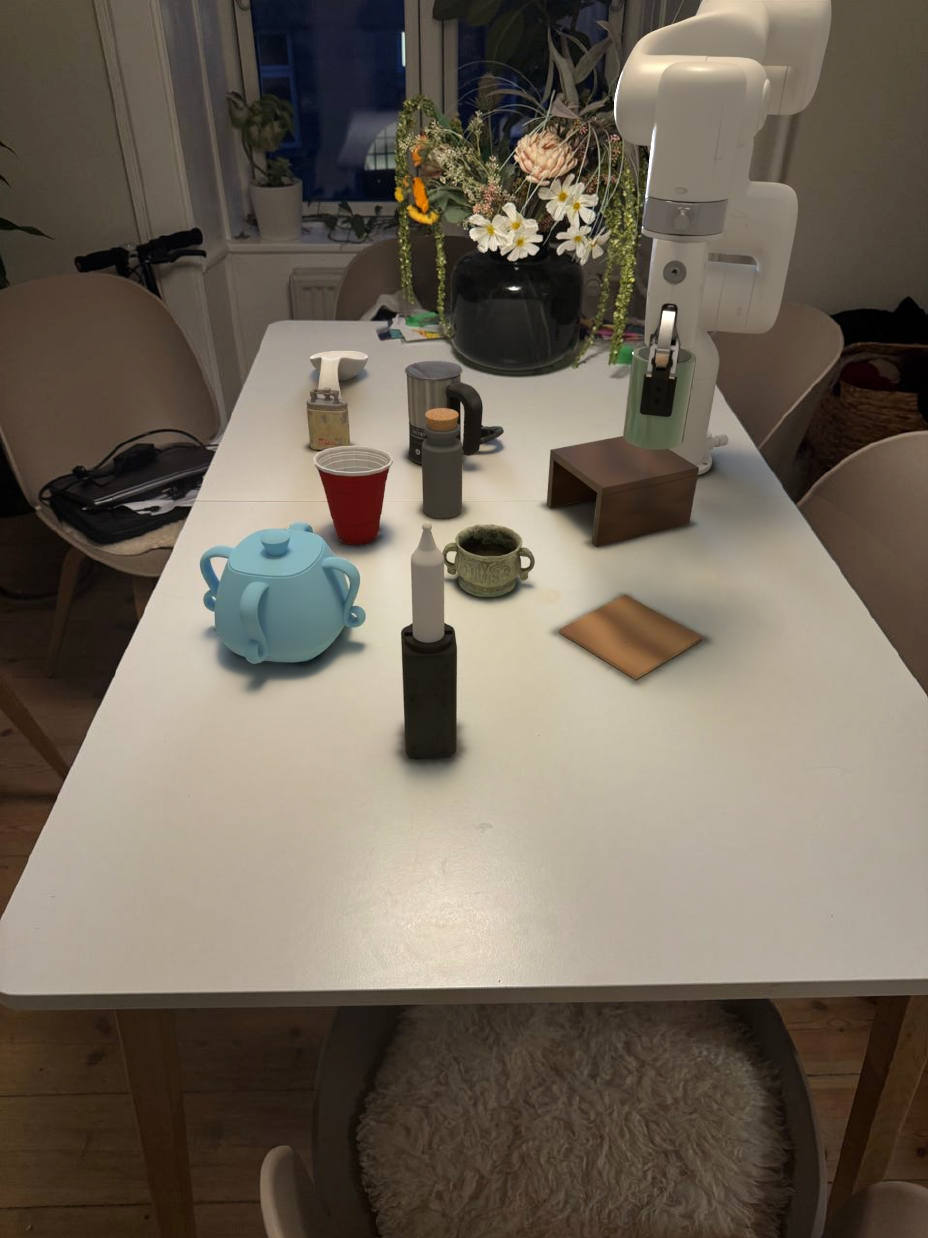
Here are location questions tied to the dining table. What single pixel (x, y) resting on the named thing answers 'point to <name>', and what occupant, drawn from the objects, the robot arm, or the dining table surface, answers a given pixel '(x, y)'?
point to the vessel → (488, 560)
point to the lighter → (327, 420)
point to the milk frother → (444, 405)
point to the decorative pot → (281, 595)
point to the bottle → (442, 464)
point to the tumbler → (657, 428)
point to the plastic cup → (354, 489)
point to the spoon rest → (337, 368)
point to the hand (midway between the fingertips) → (658, 401)
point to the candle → (429, 659)
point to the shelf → (623, 487)
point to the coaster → (630, 636)
